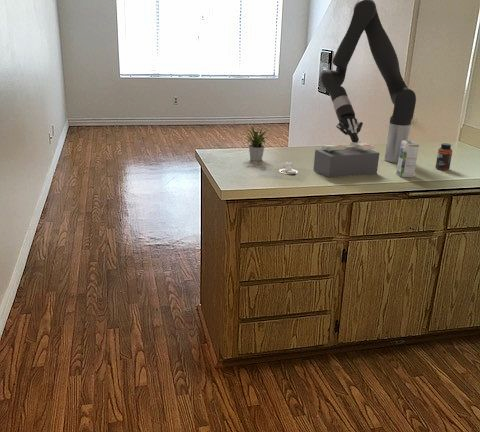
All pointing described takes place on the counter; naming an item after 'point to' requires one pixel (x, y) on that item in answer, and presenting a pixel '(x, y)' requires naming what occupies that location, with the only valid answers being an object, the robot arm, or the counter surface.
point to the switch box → (346, 162)
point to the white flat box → (361, 145)
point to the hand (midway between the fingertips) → (356, 142)
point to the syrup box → (407, 158)
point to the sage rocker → (333, 147)
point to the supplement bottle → (444, 157)
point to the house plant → (256, 144)
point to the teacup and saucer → (289, 168)
